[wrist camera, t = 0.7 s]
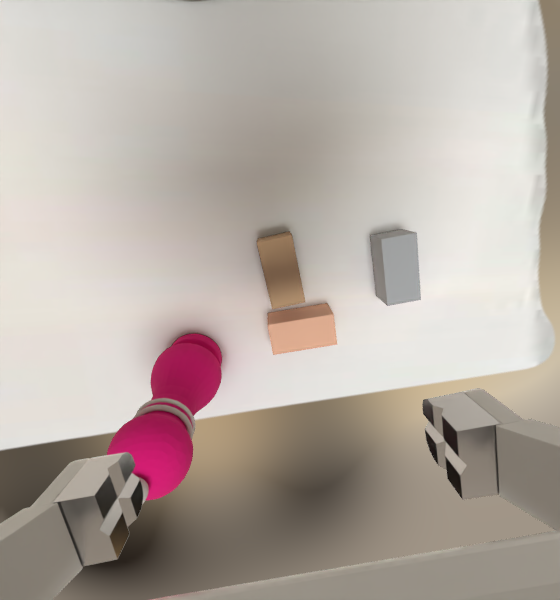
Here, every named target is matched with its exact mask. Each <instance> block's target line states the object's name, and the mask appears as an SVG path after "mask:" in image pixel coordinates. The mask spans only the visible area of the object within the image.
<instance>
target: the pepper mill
mask: <svg viewBox="0 0 560 600" xmlns="http://www.w3.org/2000/svg"><path fill="white" fill-rule="evenodd" d="M221 362H222V355H221V351H220V349H219V347H218V345H217V344H216V343H215V342H214V341H213V340H212V339H210V338H209V337H207V336H204V335H201V334H187V335H184V336H182V337H180V338H178V339H177V340H176V341H175V342H174V343H173V345H172V346H171V347H170V348H168V349H166V350H165V351H164V352H163V353H162V354H161V355H160V356H159V357H158V359H157V361H156V363H155V365H154V367H153V370H152V375H151V388H152V394H153V397H152V399H151V401H149V402H147V403H145V404H144V405H143V406H142V407H140V409H139V410H138V411H137V413H136V415H135V417H134V418H133V419H132V420H130V421H129V422H127V423H126V424H124V425H123V426H122V427H121V428H120V429H119V431H118V432H117V433H116V434H115V436H114V437H113V439H112V441H111V443H110V446H109V448H108V452H107V455H112V454H119V453H125V452H128V453H130V454H131V455H132V457H133V459H134V462H135V465H136V466H135V468H134V470H133V474H134V475H135V476H137V477H138V478H139V479H140V480H141V484H142V487H143V502H142V504H143V503H144V501H145V500H153V499H157V498H160V497H163V496H165V495H167V494H168V493H170V492H171V491H173V490H174V489H175V488H176V487H177V486H178V485H179V484H180V483H181V481H182V480H183V479H184V478H185V476H186V474H187V472H188V470H189V468H190V465H191V461H192V457H193V444H192V441H191V440H192V437H193V434H194V431H195V420H194V417H193V416H194V415H195V413H196V412H198V411H199V410H200V409H202V408H203V407H205V406H206V405H207V404H208V403H209V402H210V401H211V400H212V398H213V397H214V396H215V394H216V392H217V390H218V388H219V385H220V383H221V367H220V366H221Z"/></svg>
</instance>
